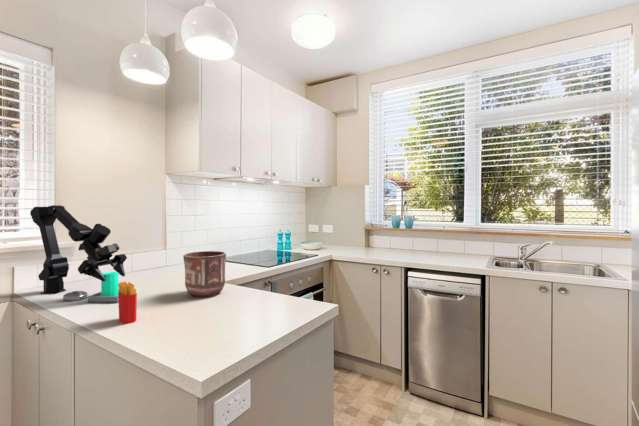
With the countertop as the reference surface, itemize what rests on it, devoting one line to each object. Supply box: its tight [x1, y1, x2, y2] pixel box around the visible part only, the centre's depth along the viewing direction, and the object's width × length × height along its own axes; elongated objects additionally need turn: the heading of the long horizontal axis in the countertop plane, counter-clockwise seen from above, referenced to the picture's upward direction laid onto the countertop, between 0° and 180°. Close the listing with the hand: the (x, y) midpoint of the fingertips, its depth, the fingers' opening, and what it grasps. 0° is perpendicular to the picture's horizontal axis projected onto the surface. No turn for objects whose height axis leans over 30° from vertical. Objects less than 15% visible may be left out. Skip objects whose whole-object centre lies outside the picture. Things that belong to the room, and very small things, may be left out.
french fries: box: [118, 281, 138, 324], centre depth 109 cm, size 9×4×13 cm, turn 48°
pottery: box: [183, 250, 227, 298], centre depth 143 cm, size 18×18×18 cm
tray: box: [87, 291, 119, 304], centre depth 135 cm, size 12×12×2 cm
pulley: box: [62, 290, 88, 303], centre depth 134 cm, size 8×8×3 cm
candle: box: [100, 271, 120, 296], centre depth 134 cm, size 6×6×12 cm
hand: (114, 278), depth 134 cm, fingers open, 9 cm apart
